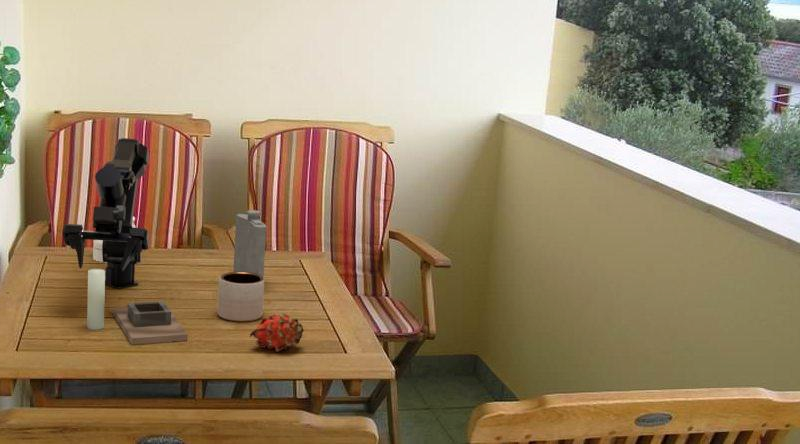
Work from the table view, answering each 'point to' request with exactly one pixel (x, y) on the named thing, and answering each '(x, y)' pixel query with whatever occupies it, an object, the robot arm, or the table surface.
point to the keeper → (149, 323)
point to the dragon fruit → (278, 332)
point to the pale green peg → (96, 299)
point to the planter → (240, 296)
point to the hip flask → (249, 243)
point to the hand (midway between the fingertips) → (101, 268)
